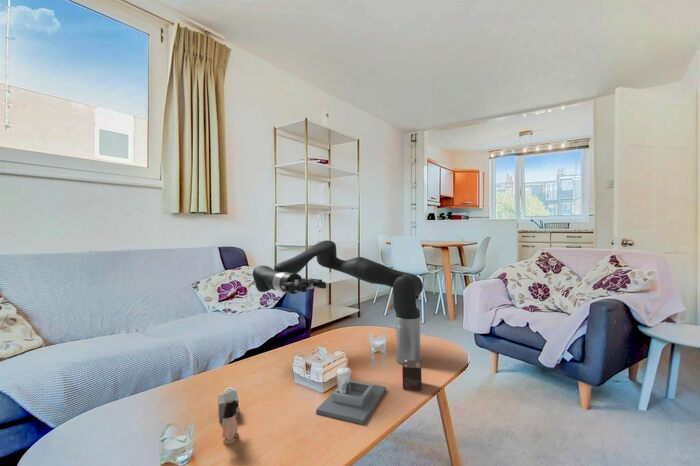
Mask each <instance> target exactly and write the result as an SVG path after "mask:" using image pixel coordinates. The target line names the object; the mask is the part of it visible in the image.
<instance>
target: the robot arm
mask: <svg viewBox="0 0 700 466" xmlns="http://www.w3.org/2000/svg"><path fill="white" fill-rule="evenodd" d="M314 258H316V261H317V264H318V265H320V266H321V267H324V268H327V269H330V270H334V271H337V272H341V273H343V274H346V275H349V276H351V277H353V278H355V279H358V280H360V281H363V282H366V283H371V284H375V285H382V286H388V287H391V288H392V299H393V302H392V303H393V309H394V312H395V330H396V331H395V338H396V339H395V341H396V344H395V345H396V347H395V348H396V354H395V355H396V356H395V357H396V362H398V363H399V364H401V365H403V360H413V361H421V311H420V308H418V307H417V299H416V297H417V296H419V295H420V294H422V292H423V289H424V284H423V281H422V280H421V278H419V276H417V275H415V274H413V273H409V272H405V271H401V270H397V269H393V268H391V267H388V266H386V265H384V264H381V263H379V262H376V261H374V260H371V259H369V258H365V257H363V256H357V257H354V258H350V259H347V260H343V259H340V258H338V256H337V245H336V243H335V242H334V241H332V240H322V241H319V242H317V243H316V244H314V245H312V246H310V247H309V248H307V249H305V250H304V251H302V252H301V253H299V254H297V255H295V256H293V257H291V258H289V259H286V260H283V261H280V262H278V263H276V264H274V267H273V268H272V267H271V266H268V265H258V266H257V267H254V269H253V271H252V277H253V281H254V284H255V285H254V286H255V287H256V288H255V289H257V291H258V292H260V293H266V292H269V291H270V290H274V291H278V292H280V293H285V294H290V295H296V294H298V293H299V292H300V293H308V292H307V291H308V290H313V289H317V288H318V289H326V288H327V282H326V281H323V279H318V278H312V277H311V278H304V277H303V278H302V276H301V275H300V274H299V273H300V272H301V271H302V270H303V269H304V268H305V266H307V264H308V263H309V262H310V261H312V259H314ZM421 362H422V361H421Z"/></svg>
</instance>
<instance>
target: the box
mask: <svg viewBox="0 0 700 466" xmlns="http://www.w3.org/2000/svg"><path fill="white" fill-rule="evenodd" d="M401 366H402V368H401V369H402V370H401V371H402V372H401V373H402V377H401V378H402V389H403V390H407V391H408V390H409V391H410V390H411V391H422V389H423V388H422V385H423V383H422V361H413V360H403V364H402V365H401Z"/></svg>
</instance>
